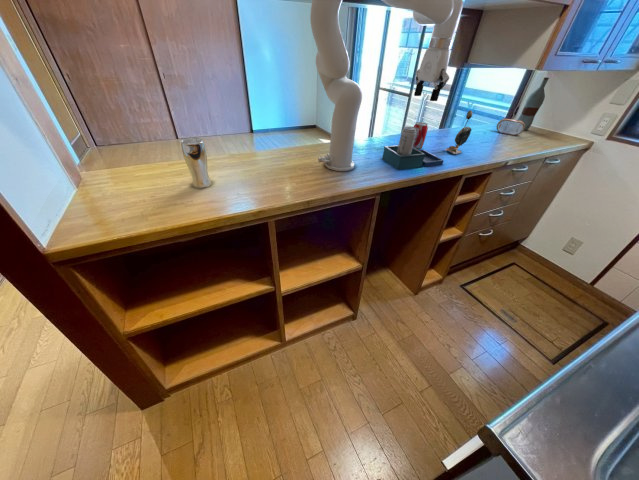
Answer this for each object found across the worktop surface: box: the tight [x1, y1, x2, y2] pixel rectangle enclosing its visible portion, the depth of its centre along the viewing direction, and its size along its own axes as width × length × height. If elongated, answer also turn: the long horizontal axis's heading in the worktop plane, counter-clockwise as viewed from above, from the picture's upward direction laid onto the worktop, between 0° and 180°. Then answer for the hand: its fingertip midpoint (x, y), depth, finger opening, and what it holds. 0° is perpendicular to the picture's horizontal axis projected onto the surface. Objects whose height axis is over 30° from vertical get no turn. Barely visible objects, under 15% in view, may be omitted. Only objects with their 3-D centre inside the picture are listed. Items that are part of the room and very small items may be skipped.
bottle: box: [516, 76, 550, 132], centre depth 169 cm, size 9×9×30 cm
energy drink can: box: [397, 126, 416, 156], centre depth 114 cm, size 6×6×15 cm
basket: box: [381, 144, 426, 171], centre depth 117 cm, size 13×13×6 cm
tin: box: [496, 118, 525, 136], centre depth 164 cm, size 15×3×8 cm, turn 58°
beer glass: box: [180, 137, 212, 189], centre depth 88 cm, size 7×7×15 cm
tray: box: [419, 149, 445, 168], centre depth 122 cm, size 10×14×2 cm
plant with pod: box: [445, 110, 474, 155], centre depth 128 cm, size 8×11×20 cm
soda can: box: [413, 121, 429, 150], centre depth 132 cm, size 7×7×12 cm
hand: (425, 98), depth 105 cm, fingers open, 9 cm apart
